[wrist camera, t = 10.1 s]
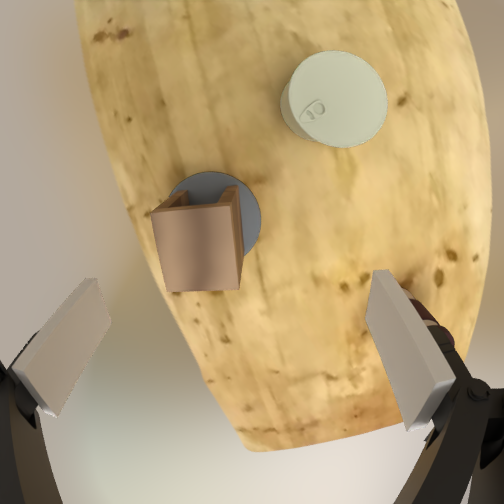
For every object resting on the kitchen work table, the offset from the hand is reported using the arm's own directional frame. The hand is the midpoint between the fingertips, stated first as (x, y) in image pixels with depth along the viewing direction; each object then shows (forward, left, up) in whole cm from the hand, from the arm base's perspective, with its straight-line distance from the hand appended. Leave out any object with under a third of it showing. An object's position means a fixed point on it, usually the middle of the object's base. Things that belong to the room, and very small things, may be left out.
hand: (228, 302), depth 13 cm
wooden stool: (+4, -6, -26) cm, 26 cm away
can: (-10, +9, -26) cm, 30 cm away
